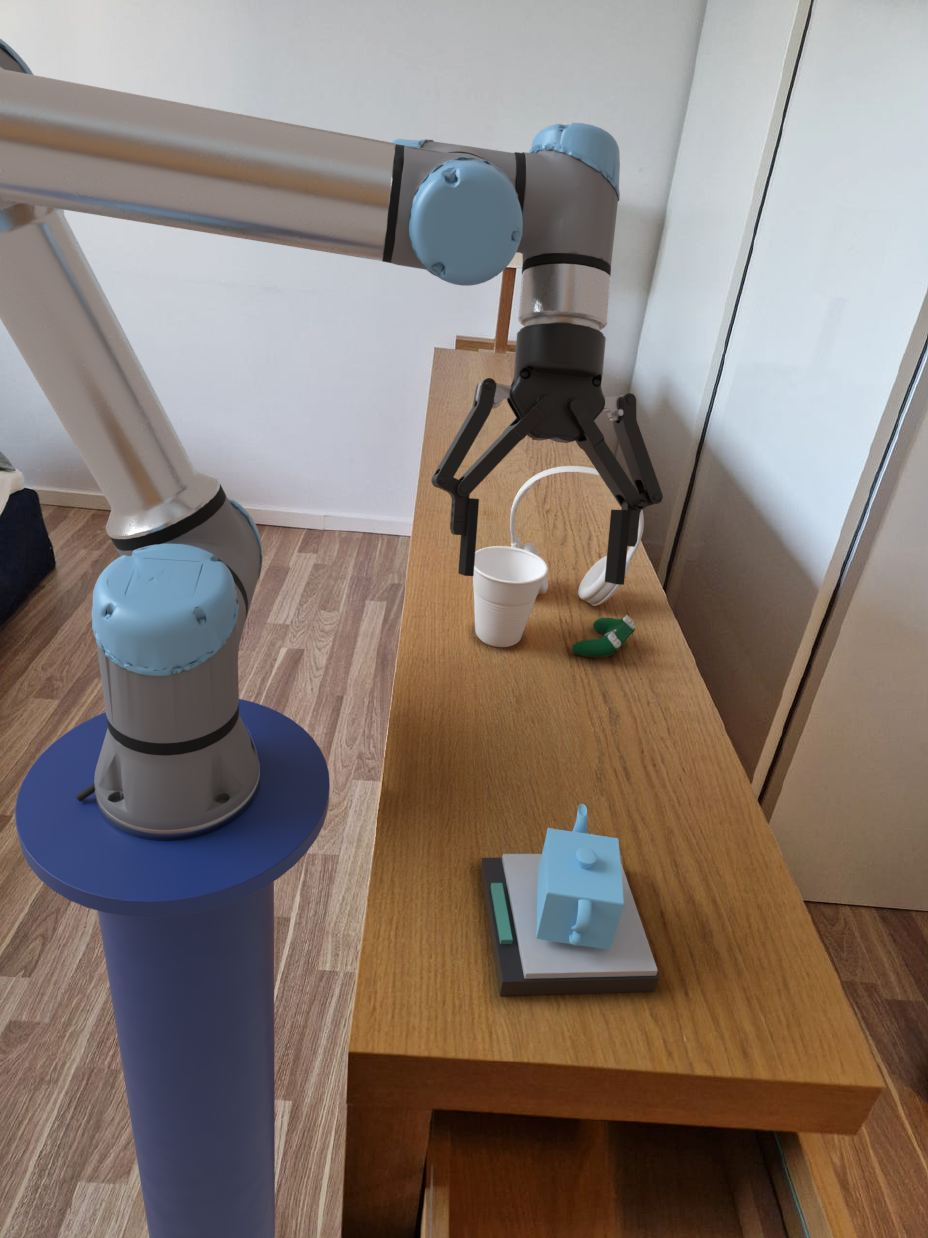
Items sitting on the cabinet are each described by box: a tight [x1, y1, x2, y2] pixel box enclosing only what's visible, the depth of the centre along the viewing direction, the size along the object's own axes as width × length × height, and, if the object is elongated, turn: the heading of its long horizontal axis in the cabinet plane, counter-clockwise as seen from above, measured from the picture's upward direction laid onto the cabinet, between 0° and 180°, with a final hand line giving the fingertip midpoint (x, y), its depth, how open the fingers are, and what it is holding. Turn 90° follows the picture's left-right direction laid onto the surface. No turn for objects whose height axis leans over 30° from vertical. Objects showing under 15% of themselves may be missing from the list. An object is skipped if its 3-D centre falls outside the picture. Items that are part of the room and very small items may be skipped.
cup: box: [472, 545, 549, 648], centre depth 113 cm, size 10×10×11 cm
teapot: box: [536, 803, 624, 950], centre depth 73 cm, size 12×6×8 cm, turn 175°
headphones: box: [509, 465, 645, 607], centre depth 122 cm, size 7×18×20 cm, turn 84°
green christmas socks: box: [571, 614, 636, 658], centre depth 116 cm, size 9×4×6 cm
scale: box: [479, 853, 660, 997], centre depth 76 cm, size 13×13×2 cm
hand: (541, 579), depth 76 cm, fingers open, 13 cm apart
